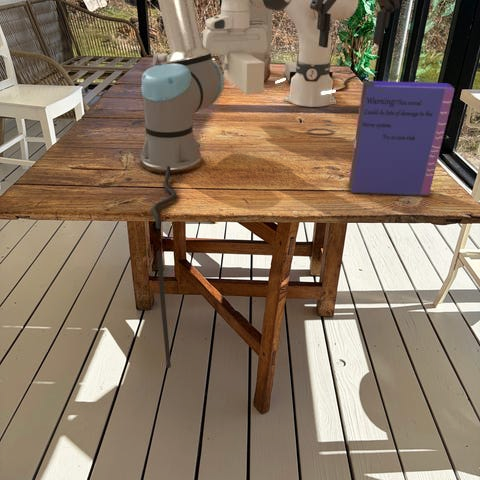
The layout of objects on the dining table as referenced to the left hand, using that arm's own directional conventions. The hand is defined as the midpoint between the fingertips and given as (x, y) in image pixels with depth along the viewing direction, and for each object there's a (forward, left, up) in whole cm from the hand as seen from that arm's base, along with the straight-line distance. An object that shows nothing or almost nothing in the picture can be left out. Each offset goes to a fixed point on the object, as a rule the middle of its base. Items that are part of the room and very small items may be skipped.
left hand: (350, 45), depth 105 cm
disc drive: (+102, +15, -30) cm, 107 cm away
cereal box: (-9, -12, -30) cm, 33 cm away
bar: (+32, +30, -17) cm, 47 cm away
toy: (+110, +72, -30) cm, 135 cm away
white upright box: (+109, +39, -30) cm, 119 cm away
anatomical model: (+88, +34, -30) cm, 99 cm away
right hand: (+39, +34, -14) cm, 53 cm away
